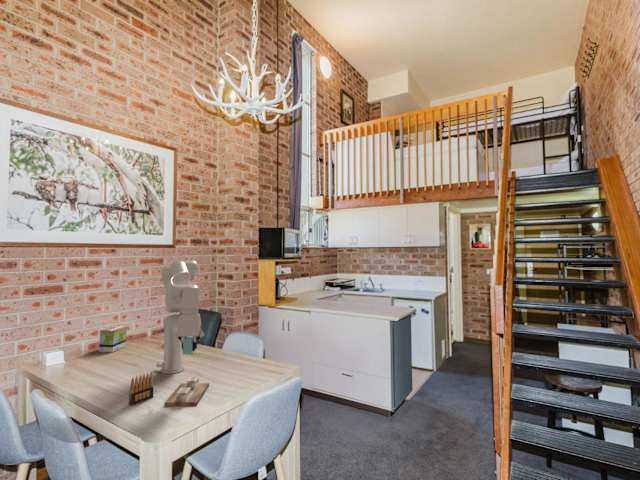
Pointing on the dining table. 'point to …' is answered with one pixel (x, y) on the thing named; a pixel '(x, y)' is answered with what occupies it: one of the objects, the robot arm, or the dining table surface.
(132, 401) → the ammunition clip
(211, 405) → the dining table surface
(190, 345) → the teal module
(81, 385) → the dining table surface
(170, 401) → the rail board
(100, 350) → the tea box
